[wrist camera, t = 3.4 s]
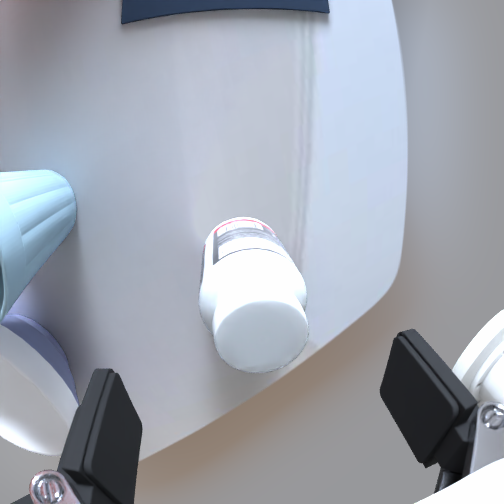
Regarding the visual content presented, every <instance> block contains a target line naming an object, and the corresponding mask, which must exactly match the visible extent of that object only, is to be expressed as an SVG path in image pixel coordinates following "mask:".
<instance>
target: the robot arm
mask: <svg viewBox="0 0 504 504" xmlns="http://www.w3.org/2000/svg"><path fill="white" fill-rule="evenodd" d="M380 395H381V398H382V400H383V401H384V403H385V405H386V406H387V408H388V410H389V411H390V413H391V415H392V417H393V419H394V420H395V422H396V424H397V425H398V427H399V429H400V431H401V432H402V434H403V436H404V438H405V439H406V441H407V443H408V445H409V446H410V448H411V450H412V452H413V453H414V455H415V457H416V459H417V461H418V462H419V463H423V465H424V466H425V468H427V467H429V466H431V465H433V464H436V463H437V462H438V463H439V465H440V467H441V469H440V473H439V477H438V480H437V484H436V488H435V491H434V494H433V495H431V496H429V497H427V498H425V499H423V500H421V501H419V502H417V503H415V504H504V341H503V342H502V343H501V344H500V345H499V346H498V347H497V348H496V349H495V350H494V351H493V352H492V353H491V355H490V356H489V357H488V358H487V360H486V361H485V362H484V363H483V365H482V366H481V368H480V369H479V371H478V372H477V374H476V376H475V377H474V379H473V381H472V383H471V385H470V388H469V390H468V389H467V388H466V387H465V386H464V384H463V383H462V382H461V381H460V380H459V379H458V377H457V376H456V375H455V374H454V373H453V372H452V370H451V369H450V368H449V367H448V366H447V365H446V364H445V362H444V361H443V360H442V359H441V358H440V357H439V356H438V354H437V353H436V352H435V351H434V350H433V349H432V348H431V346H430V345H429V344H428V343H427V342H426V341H425V340H424V339H423V338H422V336H420V334H419V333H418V332H417V331H416V330H415V329H410V330H407V331H402V332H399V333H398V334H397V337H396V338H394V340H393V344H392V348H391V352H390V356H389V360H388V363H387V367H386V370H385V374H384V377H383V381H382V384H381V387H380ZM478 405H481V406H480V408H479V406H478ZM141 437H142V423H141V420H140V418H139V416H138V414H137V412H136V410H135V408H134V406H133V404H132V402H131V400H130V398H129V396H128V393H127V391H126V389H125V387H124V385H123V382H122V380H121V378H120V375H119V374H118V373H115V372H114V371H113V370H112V369H95V370H94V372H93V374H92V377H91V380H90V382H89V385H88V388H87V390H86V393H85V396H84V398H83V401H82V404H81V405H80V406H79V407H78V408H77V410H76V412H75V415H74V418H73V421H72V424H71V427H70V430H69V433H68V436H67V439H66V442H65V445H64V448H63V452H62V455H61V458H60V462H59V466H58V469H57V471H54V470H44V471H41V472H39V473H37V474H36V475H35V476H34V477H33V478H32V480H31V483H30V486H29V492H30V494H28V495H26V496H25V497H23V498H21V499H19V500H17V501H15V502H13V503H11V504H134V495H135V486H136V475H137V467H138V459H139V451H140V444H141Z"/></svg>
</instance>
